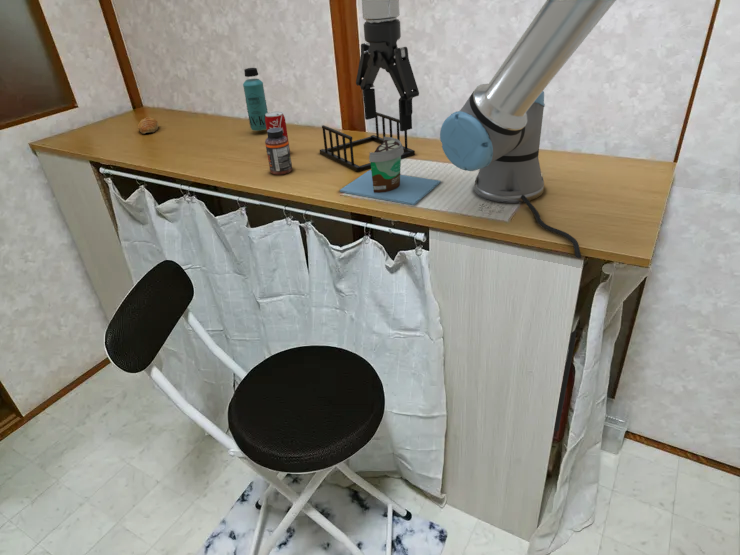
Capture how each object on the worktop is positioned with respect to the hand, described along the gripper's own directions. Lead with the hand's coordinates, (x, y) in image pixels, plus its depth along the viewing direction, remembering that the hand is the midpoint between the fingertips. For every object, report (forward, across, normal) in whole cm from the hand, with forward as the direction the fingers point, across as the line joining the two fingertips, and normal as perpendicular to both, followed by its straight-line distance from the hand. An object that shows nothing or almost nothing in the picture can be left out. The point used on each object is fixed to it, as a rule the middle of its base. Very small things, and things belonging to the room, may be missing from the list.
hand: (387, 124), depth 119 cm
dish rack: (+15, +24, -9) cm, 30 cm away
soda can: (+15, +42, +9) cm, 46 cm away
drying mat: (+15, 0, 0) cm, 15 cm away
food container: (+15, 0, 0) cm, 15 cm away
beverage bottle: (+15, +67, +4) cm, 69 cm away
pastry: (+14, +100, +32) cm, 106 cm away
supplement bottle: (+15, +29, +15) cm, 36 cm away
